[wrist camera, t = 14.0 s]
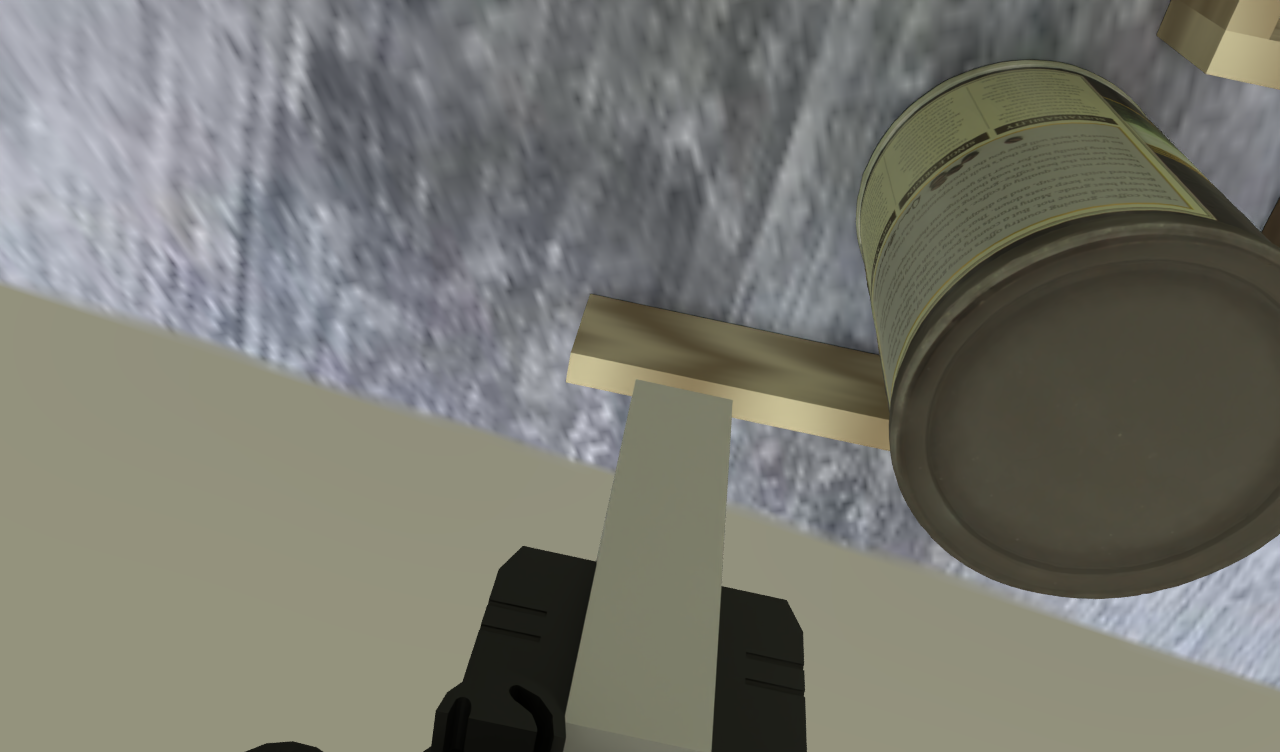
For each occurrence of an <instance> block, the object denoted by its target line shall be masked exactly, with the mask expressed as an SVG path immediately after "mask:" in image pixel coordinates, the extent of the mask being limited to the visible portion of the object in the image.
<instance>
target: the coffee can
mask: <svg viewBox="0 0 1280 752" xmlns="http://www.w3.org/2000/svg"><path fill="white" fill-rule="evenodd" d="M856 229H857V237H858V243H859V247H860V251H861V254H862V258H863V261H864V264H865V272H866V279H867V286H868V290H869V295H870V300H871V308H872V314H873V319H874V324H875V329H876V333H877V341H878V348H879V356H880V360H881V366H882V373H883V379H884V385H885V393H886V396H887V401H888V408H889V413H890V416H889V444H890V453H891V459H892V465H893V469H894V472H895V476H896V479H897V482H898V485H899V488H900V490H901V493H902V495H903V497H904V499H905V501H906V503H907V505H908V506H909V508H910V510H911V512H912V513H913V515H914V516H915V518H916V519H917V521H918V522H919V524H920V525H921V526H922V527H923V528H924V529H925V530H926V531H927V532H928V534H929V535H930V536H931V538H932V539H933V540H934V541H936V542H937V543H938V544H939V545H940V546H941V547H942V548H943V549H944V550H945V551H946V552H948V553H949V554H950V555H951V556H953V557H954V558H956V559H957V560H959V561H960V562H962V563H963V564H964V565H965V566H967V567H969V568H971V569H973V570H975V571H976V572H978V573H980V574H982V575H984V576H986V577H988V578H990V579H992V580H995V581H998V582H1000V583H1003V584H1006V585H1009V586H1012V587H1015V588H1019V589H1023V590H1027V591H1031V592H1036V593H1041V594H1047V595H1053V596H1059V597H1070V598H1086V599H1106V598H1121V597H1130V596H1137V595H1141V594H1149V593H1152V592H1155V591H1159V590H1163V589H1168V588H1172V587H1176V586H1180V585H1182V584H1185V583H1188V582H1191V581H1194V580H1196V579H1199V578H1201V577H1204V576H1207V575H1210V574H1212V573H1214V572H1216V571H1218V570H1221V569H1223V568H1225V567H1227V566H1229V565H1231V564H1233V563H1235V562H1237V561H1239V560H1241V559H1243V558H1245V557H1247V556H1248V555H1250V554H1252V553H1253V552H1255V551H1257V550H1258V549H1260V548H1261V547H1263V546H1264V545H1265V544H1267V543H1268V542H1269V541H1271V540H1272V539H1274V538H1275V537H1277V536H1278V535H1279V534H1280V248H1279V247H1278V246H1276V245H1275V244H1273V243H1271V241H1269V240H1268V239H1267V238H1266V237H1265V236H1264V235H1263V234H1262V233H1261V232H1260V231H1259V230H1258V229H1257V228H1256V227H1255V226H1254V225H1253V224H1252V223H1251V222H1250V221H1249V220H1248V218H1247V217H1246V216H1245V215H1244V214H1243V213H1242V212H1240V211H1239V210H1238V209H1237V208H1236V207H1235V206H1234V205H1233V204H1232V203H1231V202H1230V201H1229V200H1228V199H1227V198H1226V197H1225V196H1224V195H1223V194H1222V193H1221V192H1220V191H1219V190H1218V189H1217V188H1216V187H1215V186H1214V185H1213V184H1212V183H1211V182H1210V181H1209V180H1208V179H1207V178H1206V177H1205V176H1204V175H1203V174H1202V173H1201V172H1200V171H1199V170H1198V169H1197V168H1196V167H1195V166H1194V165H1193V164H1192V163H1191V162H1190V161H1189V160H1188V159H1187V158H1186V157H1185V156H1184V155H1183V154H1182V153H1181V152H1180V151H1179V150H1178V149H1177V148H1176V147H1175V146H1174V145H1173V144H1172V143H1171V142H1170V141H1169V140H1168V139H1167V138H1166V137H1165V136H1164V134H1163V133H1162V132H1161V131H1160V130H1159V129H1158V128H1157V127H1156V126H1155V125H1154V124H1153V123H1152V122H1151V121H1150V120H1148V118H1147V117H1146V116H1145V114H1144V113H1143V111H1142V110H1141V109H1140V107H1139V106H1138V105H1137V104H1136V103H1135V102H1134V101H1133V100H1132V99H1131V98H1130V97H1129V96H1128V95H1126V94H1125V93H1124V92H1123V91H1122V90H1120V89H1119V88H1118V87H1117V86H1115V85H1114V84H1112V83H1111V82H1109V81H1107V80H1105V79H1104V78H1102V77H1100V76H1098V75H1096V74H1094V73H1092V72H1089V71H1087V70H1084V69H1081V68H1079V67H1077V66H1073V65H1069V64H1065V63H1061V62H1052V61H1041V60H1019V61H1009V62H1001V63H997V64H992V65H988V66H984V67H981V68H978V69H974V70H971V71H969V72H966V73H963V74H961V75H958V76H956V77H954V78H951V79H948V80H947V81H945V82H943V83H941V84H940V85H938V86H937V87H935V88H934V89H932V90H931V91H930V92H928V93H927V94H926V95H924V96H923V97H921V98H920V99H918V100H917V101H916V102H915V103H913V104H912V105H911V106H910V107H909V108H908V109H907V110H906V111H905V112H903V114H902V115H901V116H900V117H899V118H898V119H897V120H896V121H895V122H894V123H893V124H892V125H891V127H890V128H889V130H888V131H887V132H886V134H885V135H884V137H883V138H882V139H881V141H880V143H879V144H878V146H877V147H876V149H875V151H874V153H873V155H872V157H871V159H870V161H869V163H868V166H867V167H866V169H865V171H864V173H863V177H862V181H861V187H860V191H859V195H858V199H857V211H856Z"/></svg>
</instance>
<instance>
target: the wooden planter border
mask: <svg viewBox="0 0 1280 752" xmlns="http://www.w3.org/2000/svg"><path fill="white" fill-rule="evenodd" d="M1279 18H1280V0H1171V2H1170V5H1169V7H1168V9H1167V12H1166V14H1165V16H1164V19H1163V21H1162V23H1161V26H1160V28H1159V30H1158V33H1157V36H1158V37H1159V38H1160V39H1162V40H1163V41H1164V42H1166V43H1167V44H1168V45H1169V46H1171V47H1172V48H1173V49H1175V50H1176V51H1177V52H1178V53H1180V54H1181V55H1182V56H1183V57H1185V58H1186V59H1187V60H1189V61H1190V62H1191V63H1192V64H1194V65H1195V66H1196V67H1198V68H1199V69H1200V70H1201V71H1203V72H1204V73H1205V74H1209V75H1213V76H1218V77H1223V78H1228V79H1232V80H1237V81H1242V82H1246V83H1251V84H1256V85H1260V86H1265V87H1270V88H1274V89H1279V90H1280V19H1279ZM1262 234H1263V235H1264V236H1265V237H1266V238H1267V239H1268V240H1269V241H1271V243H1273V244H1275V245H1276V246H1278V247H1279V248H1280V199H1279V200H1278V202H1277V204H1276V206H1275V208H1274V210H1273V212H1272V214H1271V216H1270V218H1269V219H1268V221H1267V223H1266V225H1265V227H1264V229H1263V231H1262ZM636 379H638V380H642V381H647V382H652V383H656V384H661V385H666V386H670V387H675V388H679V389H684V390H689V391H693V392H698V393H703V394H707V395H712V396H716V397H721V398H726V399H730V400H733V403H732V418H737V419H742V420H746V421H751V422H756V423H761V424H765V425H770V426H775V427H779V428H784V429H789V430H794V431H798V432H803V433H808V434H812V435H817V436H822V437H827V438H831V439H836V440H841V441H845V442H850V443H855V444H860V445H864V446H869V447H874V448H878V449H883V450H888V451H890V444H889V416H890V413H889V408H888V401H887V396H886V393H885V385H884V379H883V373H882V366H881V360H880V356H879V355H875V354H871V353H866V352H861V351H857V350H852V349H847V348H842V347H838V346H833V345H828V344H824V343H819V342H814V341H810V340H805V339H800V338H795V337H791V336H786V335H781V334H777V333H772V332H767V331H762V330H758V329H753V328H748V327H744V326H739V325H734V324H730V323H725V322H720V321H715V320H711V319H706V318H701V317H697V316H692V315H687V314H682V313H678V312H673V311H668V310H664V309H659V308H654V307H650V306H645V305H640V304H635V303H631V302H626V301H621V300H617V299H612V298H607V297H602V296H598V295H593V294H590V296H589V299H588V302H587V305H586V308H585V311H584V314H583V317H582V320H581V323H580V326H579V329H578V333H577V336H576V339H575V342H574V345H573V348H572V351H571V355H570V361H569V367H568V372H567V378H566V382H567V383H572V384H577V385H582V386H586V387H591V388H596V389H600V390H605V391H610V392H615V393H619V394H624V395H629V396H632V394H633V390H634V385H635V380H636Z"/></svg>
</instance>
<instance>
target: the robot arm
mask: <svg viewBox="0 0 1280 752" xmlns="http://www.w3.org/2000/svg"><path fill="white" fill-rule="evenodd" d="M732 403H733V400H730V399H726V398H721V397H716V396H712V395H707V394H703V393H698V392H693V391H689V390H684V389H679V388H675V387H670V386H666V385H661V384H656V383H652V382H647V381H642V380H638V379H636V380H635V385H634V390H633V394H632V399H631V403H630V408H629V412H628V417H627V422H626V426H625V431H624V435H623V440H622V444H621V449H620V454H619V458H618V463H617V467H616V472H615V476H614V481H613V486H612V490H611V495H610V500H609V504H608V508H607V513H606V517H605V522H604V527H603V532H602V537H601V541H600V546H599V551H598V556H597V560H596V561H591V560H586V559H581V558H577V557H572V556H568V555H563V554H558V553H553V552H549V551H544V550H540V549H534V548H530V547H526V546H522V547H521V548H520V549H519V550H518V551H517V552H516V553H515V554H514V555H513V556H512V557H511V558H510V559H509V560H508V561H507V562H506V563H505V564H504V565H503V566H502V567H501V568H500V569H499V571H498V573H497V577H496V580H495V583H494V586H493V589H492V592H491V595H490V598H489V603H488V605H487V607H486V611H485V614H484V617H483V620H482V623H481V628H480V630H479V632H478V636H477V639H476V642H475V645H474V648H473V651H472V654H471V657H470V660H469V663H468V666H467V669H466V672H465V676H464V679H463V682H462V683H460V684H459V685H457V686H456V687H454V688H453V689H451V690H450V691H449V692H447V694H446V695H445V697H444V698H443V700H442V702H441V703H440V705H439V707H438V708H437V710H436V713H435V722H434V729H433V737H432V745H431V747H429V748H428V749H426V750H425V751H424V752H807V745H806V744H807V743H806V714H805V713H806V712H805V697H804V692H805V682H804V681H805V680H804V670H803V666H804V649H803V631H802V629H801V627H800V625H799V623H798V621H797V619H796V617H795V615H794V613H793V612H792V610H791V608H790V606H789V604H788V602H787V600H784V599H779V598H774V597H770V596H765V595H760V594H756V593H751V592H746V591H742V590H737V589H733V588H728V587H723V586H721V584H722V567H723V551H724V533H725V517H726V502H727V485H728V469H729V453H730V436H731V420H732ZM246 752H323V751H321V750H320V749H318V748H317V747H313V746H309V745H305V744H301V743H297V742H293V741H292V742H280V743H266V744H264V745H261V746H259V747H256V748H254V749H251V750H248V751H246Z"/></svg>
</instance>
